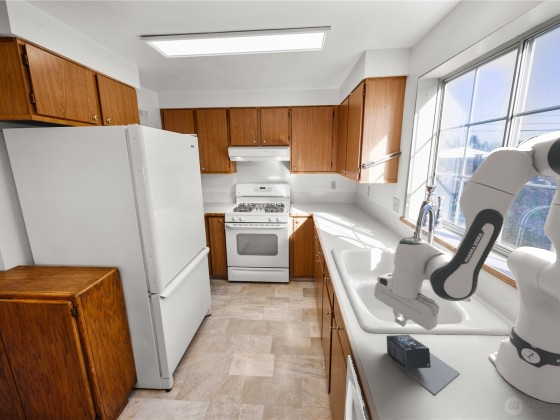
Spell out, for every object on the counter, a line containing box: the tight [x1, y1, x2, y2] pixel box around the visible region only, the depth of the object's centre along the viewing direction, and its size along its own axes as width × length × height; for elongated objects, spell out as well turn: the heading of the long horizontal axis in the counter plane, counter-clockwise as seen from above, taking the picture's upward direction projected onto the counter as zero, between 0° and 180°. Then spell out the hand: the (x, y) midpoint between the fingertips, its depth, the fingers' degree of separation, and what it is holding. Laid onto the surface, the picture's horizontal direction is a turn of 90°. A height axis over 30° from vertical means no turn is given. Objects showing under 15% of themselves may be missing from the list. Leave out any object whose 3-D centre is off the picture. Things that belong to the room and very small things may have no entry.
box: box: [386, 334, 431, 370], centre depth 76 cm, size 8×6×11 cm
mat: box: [395, 352, 461, 396], centre depth 75 cm, size 14×12×1 cm
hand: (400, 323), depth 81 cm, fingers closed
